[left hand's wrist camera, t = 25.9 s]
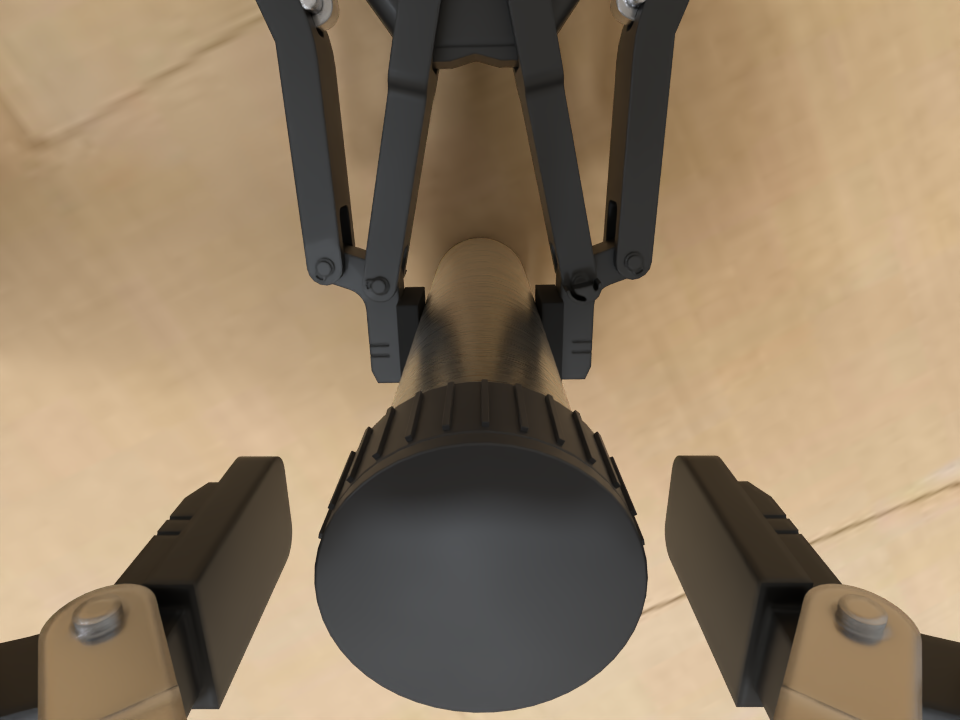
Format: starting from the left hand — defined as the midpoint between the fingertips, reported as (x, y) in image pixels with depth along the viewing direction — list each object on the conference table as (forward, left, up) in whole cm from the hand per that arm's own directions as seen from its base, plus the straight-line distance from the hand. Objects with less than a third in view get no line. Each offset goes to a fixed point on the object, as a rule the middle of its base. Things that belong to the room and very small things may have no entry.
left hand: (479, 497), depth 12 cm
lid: (0, 0, +2) cm, 2 cm away
